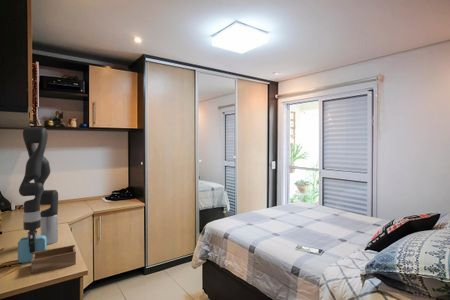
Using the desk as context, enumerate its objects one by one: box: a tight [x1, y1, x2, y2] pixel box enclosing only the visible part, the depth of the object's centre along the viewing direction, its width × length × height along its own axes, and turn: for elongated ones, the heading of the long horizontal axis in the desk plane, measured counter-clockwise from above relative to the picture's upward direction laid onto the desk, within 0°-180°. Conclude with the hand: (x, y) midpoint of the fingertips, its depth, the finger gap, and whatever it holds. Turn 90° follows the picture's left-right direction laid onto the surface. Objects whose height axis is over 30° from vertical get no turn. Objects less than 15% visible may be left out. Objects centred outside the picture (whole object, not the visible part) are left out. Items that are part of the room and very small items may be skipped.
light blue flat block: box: [17, 235, 48, 264], centre depth 143 cm, size 12×4×12 cm, turn 115°
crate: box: [30, 244, 77, 274], centre depth 137 cm, size 12×19×6 cm, turn 122°
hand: (32, 250), depth 143 cm, fingers open, 6 cm apart
